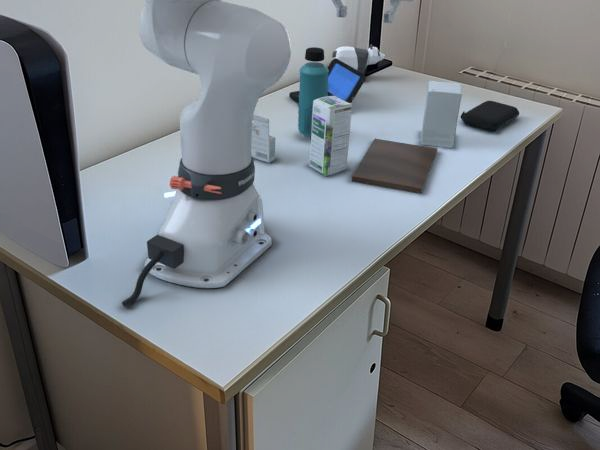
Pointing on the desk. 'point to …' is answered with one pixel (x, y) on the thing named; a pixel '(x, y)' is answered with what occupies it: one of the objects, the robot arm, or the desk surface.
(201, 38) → the robot arm
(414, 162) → the walnut board
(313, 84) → the beverage bottle
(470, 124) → the carrying case
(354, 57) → the giant panda
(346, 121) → the syrup box
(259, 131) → the ink cartridge box
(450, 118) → the white packaging box
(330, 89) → the game console
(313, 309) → the desk surface
